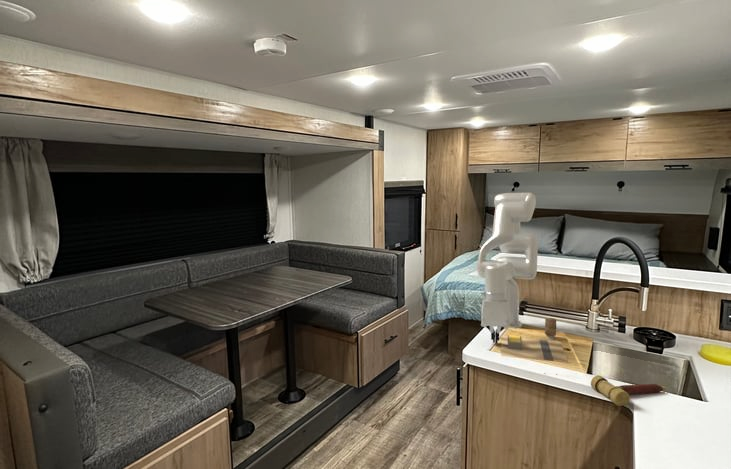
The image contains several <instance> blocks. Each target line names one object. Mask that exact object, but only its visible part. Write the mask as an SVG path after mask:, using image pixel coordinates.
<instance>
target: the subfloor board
mask: <svg viewBox="0 0 731 469" xmlns="http://www.w3.org/2000/svg"><path fill="white" fill-rule="evenodd" d="M521 339H522V350H516V349H508V342H507V340H508V336H500V356H501V357H509V358H519V359H528V360H529V359H530V360H538V361H539V360H540V361H550V362H556V363H557V362H559V363H566V364H567V363H568V364H569V360H568V359H567V356H566V353H565V350H564V349H563V346H562V343H561V341H557V340H548V339H547V340H546V339H534V338H533V339H532V338H524V337H521Z"/></svg>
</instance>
